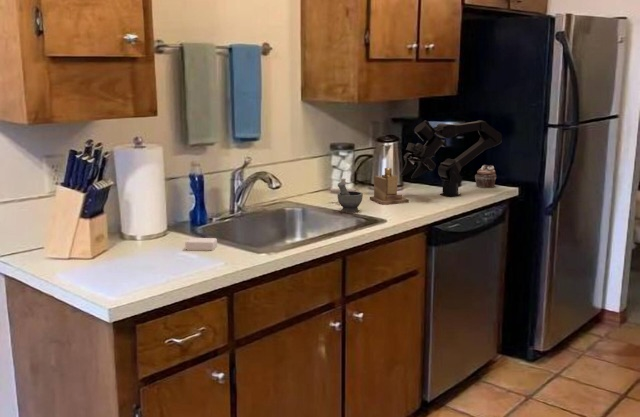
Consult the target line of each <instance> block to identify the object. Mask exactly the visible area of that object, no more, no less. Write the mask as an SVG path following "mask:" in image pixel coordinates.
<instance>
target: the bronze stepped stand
mask: <svg viewBox="0 0 640 417" xmlns="http://www.w3.org/2000/svg"><path fill="white" fill-rule="evenodd" d="M373 178H374V179H373V180H374V181H373V195H374V196H373V195H372V196H369V201H371V202H372V201H373V202H375V203H377V204H380V205H381V206H384V205H386V206H387V205H397V204H406V203H409V202H410V199H408V198H405V197H404V196H403V194H397V195H388V196H387V179H385V178H382V176H379V175H373Z"/></svg>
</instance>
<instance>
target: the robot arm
mask: <svg viewBox="0 0 640 417" xmlns="http://www.w3.org/2000/svg"><path fill="white" fill-rule="evenodd" d="M413 131H414V133H415V134H416V135H417V136H418V138H419V139H421V140H422V142H425V144H424V145H423V144H422V143H420V142H417V143H413V142H408V144H407V145H406V148H405V150H406V151H409V152H406V153H405V154H404V155H403V160H404V165H403V168H402V171H401V174H400V175H401V176H402V177H404V176H405V175H407V174H408V173H410V172H412V171H413V170H414V169H415V170H414V171H413V173H412V175H411V179H412V180H414V179H415V178H417V177H420V176H422V175H424V174H427V173H429V172H431V171H434V170H435V169H436V166H437V164H436V163H435V161H433V160H432V158H435V157H436V156H437V155H436V153H437V152H438V150H439V149H440V148H441V147H442V148H447V141H446V140H445V139H451V138H453V137H456V136H457V135H460V134H466V133H471V132H478V134H479V136H480V137H479V139H478V141H477V142H475V143H474V144H473V145H472V146H470V147H468V149H466V150H465V151H464V152H462V153H461V154H459V155H458V156H457V157H455V158H454V159H453V158H452V159H451V158H446V159H445V160H444V161H443V162H440V164H439V165H438V168H437V174H438V176H439V177H440V180H441V181H442V182H443V183H442V191H441V192H442V193H439V194H440V196H445V197H450V198H453V197H458V196H459V197H460V196H461V195H462V194H461V193H459V186H460V184H459V183H461V182H462V180H463V177H462V175H461V174H460V173H461V170H462V168H463V167H464V166H466V165H467V164H468V163H470V162H471V161H472V160H473V159H475V158H476V157H477V156H479V155H480V154H481V153H483V152H484V151H486V150H487V149H491V148H494V147H496V146H498V145H500V144H501V143H502V140H503V135H502V133H501V131H498V130H497V129H495V128H494V127H493V126H491V125H490V124H489V123H487V121H485V120H476V121H471V122H470V121H469V122H464V123H457V124H455V123H454V124H452V123H451V124H450V123H438V124H437V125H436V126H432V125H431V124H430V122H429V121H428V120H423V121H422V122H420V123H419V124H417V125H416V126H415V127H414V129H413ZM442 138H443V139H444V140H443V139H442ZM410 152H411V153H410Z"/></svg>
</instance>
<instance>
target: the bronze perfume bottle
mask: <svg viewBox="0 0 640 417" xmlns="http://www.w3.org/2000/svg"><path fill="white" fill-rule="evenodd" d="M392 169H393V168H392V167H385V168H384V174H381V177H382V178H385V179H387V196H388V195H398V176H397V175H394V174H393V173H392Z"/></svg>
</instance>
